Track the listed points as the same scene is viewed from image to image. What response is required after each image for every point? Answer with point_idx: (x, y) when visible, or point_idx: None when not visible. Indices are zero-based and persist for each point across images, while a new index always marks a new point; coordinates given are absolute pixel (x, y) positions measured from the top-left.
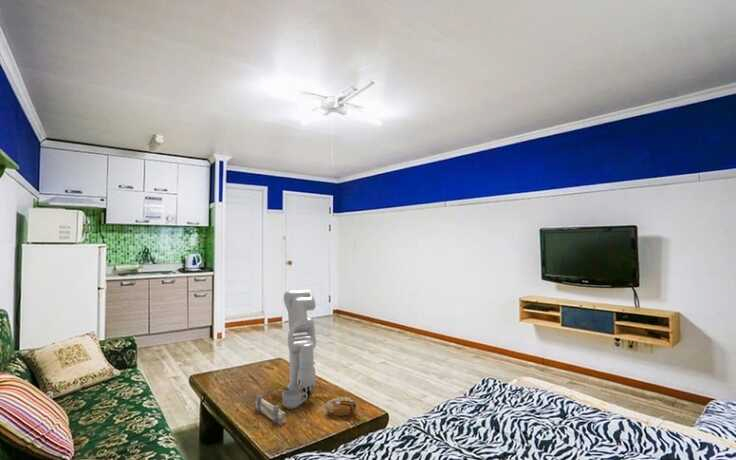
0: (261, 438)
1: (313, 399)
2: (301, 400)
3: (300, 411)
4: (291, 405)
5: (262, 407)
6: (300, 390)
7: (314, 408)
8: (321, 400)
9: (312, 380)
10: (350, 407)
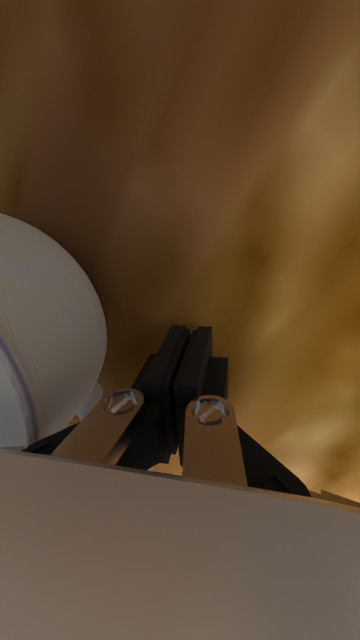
0: None
1: (306, 324)
2: (76, 413)
3: (71, 420)
4: None
5: None
6: (24, 425)
7: (179, 460)
8: (346, 406)
9: None
10: None
